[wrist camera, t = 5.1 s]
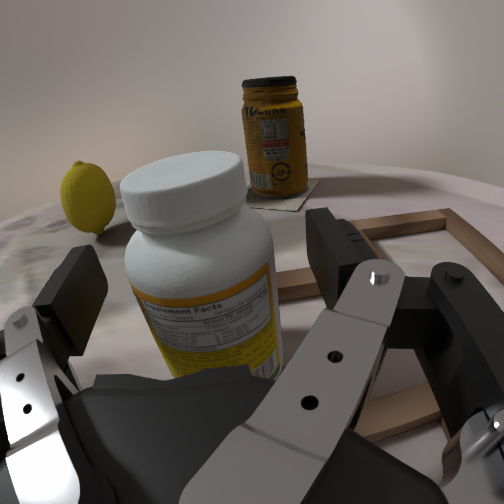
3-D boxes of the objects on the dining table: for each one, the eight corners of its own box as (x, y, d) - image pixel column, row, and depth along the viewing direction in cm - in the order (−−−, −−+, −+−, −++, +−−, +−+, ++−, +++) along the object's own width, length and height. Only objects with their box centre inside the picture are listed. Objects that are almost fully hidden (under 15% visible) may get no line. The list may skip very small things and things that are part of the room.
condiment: (320, 181, 34) (312, 74, 28) (296, 212, 28) (284, 75, 21) (260, 177, 37) (248, 79, 31) (225, 206, 31) (205, 85, 24)
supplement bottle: (271, 421, 12) (233, 198, 7) (158, 398, 13) (63, 208, 8) (292, 330, 16) (278, 140, 11) (198, 321, 17) (151, 152, 12)
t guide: (134, 574, 6) (121, 573, 5) (173, 259, 23) (169, 248, 23) (605, 398, 6) (615, 387, 5) (447, 218, 24) (449, 208, 23)
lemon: (113, 217, 33) (93, 150, 29) (133, 229, 29) (110, 151, 25) (71, 239, 30) (47, 170, 25) (84, 254, 26) (55, 174, 22)
